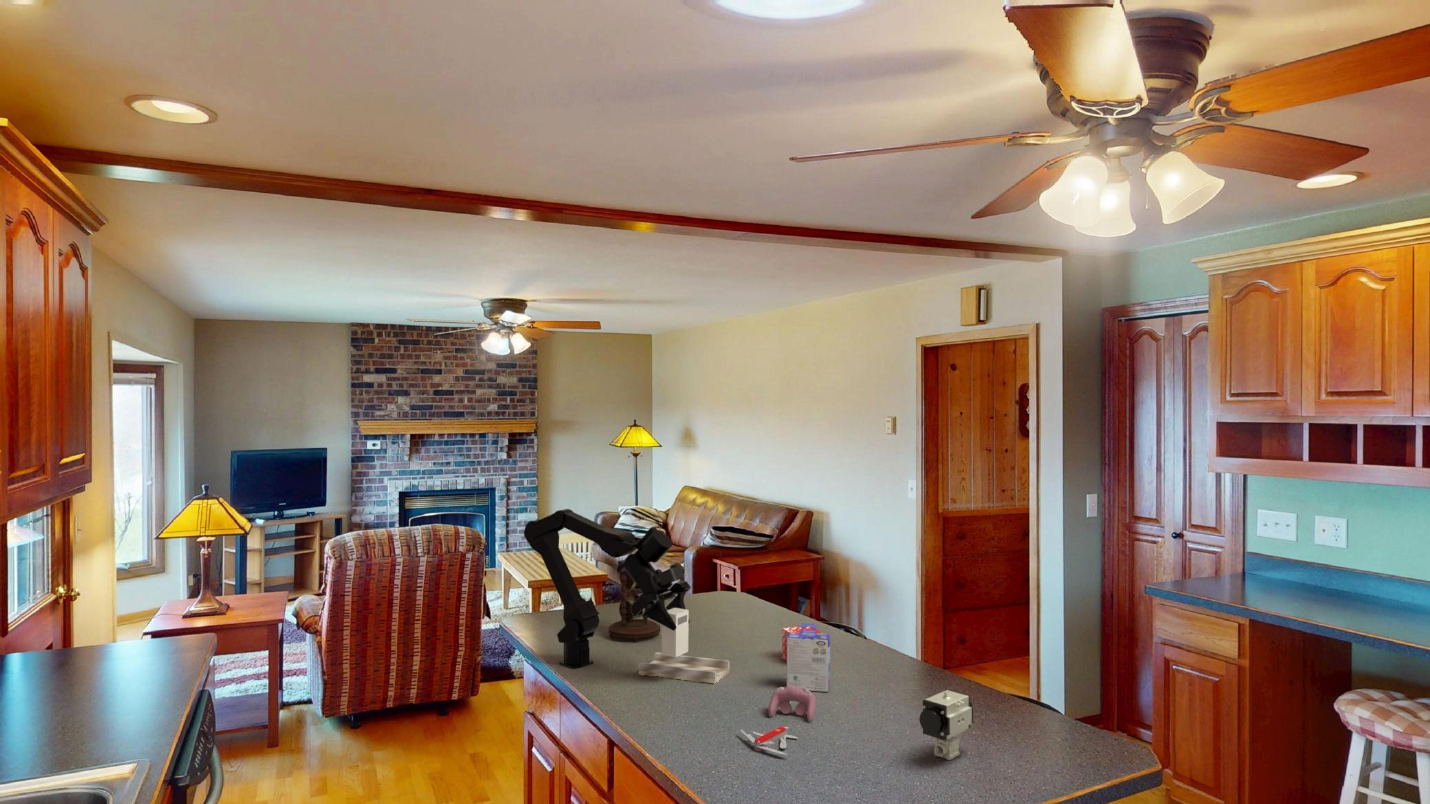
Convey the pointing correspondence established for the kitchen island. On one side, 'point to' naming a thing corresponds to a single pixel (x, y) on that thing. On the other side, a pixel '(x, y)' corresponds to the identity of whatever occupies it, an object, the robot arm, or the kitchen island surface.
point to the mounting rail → (686, 668)
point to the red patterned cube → (785, 634)
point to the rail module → (676, 634)
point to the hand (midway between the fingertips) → (681, 626)
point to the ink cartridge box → (808, 659)
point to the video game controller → (793, 694)
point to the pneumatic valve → (946, 720)
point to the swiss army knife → (770, 739)
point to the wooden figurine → (628, 624)
